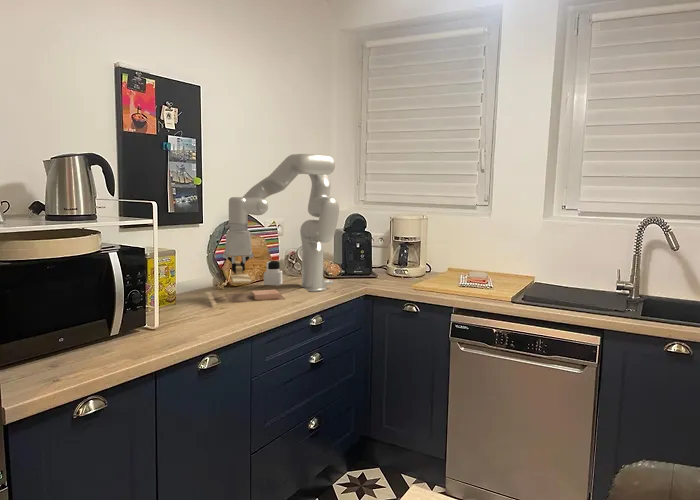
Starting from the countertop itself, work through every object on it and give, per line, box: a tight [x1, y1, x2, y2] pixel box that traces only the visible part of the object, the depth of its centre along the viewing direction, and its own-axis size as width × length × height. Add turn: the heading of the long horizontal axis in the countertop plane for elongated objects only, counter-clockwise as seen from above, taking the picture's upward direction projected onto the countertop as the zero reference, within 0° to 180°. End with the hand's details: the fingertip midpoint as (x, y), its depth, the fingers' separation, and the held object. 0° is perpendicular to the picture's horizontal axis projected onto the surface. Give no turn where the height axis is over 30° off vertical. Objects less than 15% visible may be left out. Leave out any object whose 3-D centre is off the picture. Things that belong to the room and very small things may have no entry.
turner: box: [230, 260, 252, 284], centre depth 211 cm, size 17×7×4 cm, turn 21°
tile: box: [251, 289, 281, 300], centre depth 213 cm, size 10×2×8 cm
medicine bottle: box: [263, 260, 283, 287], centre depth 241 cm, size 7×7×12 cm
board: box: [224, 292, 286, 304], centre depth 214 cm, size 22×16×2 cm
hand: (238, 272), depth 213 cm, fingers closed on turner, 2 cm apart
